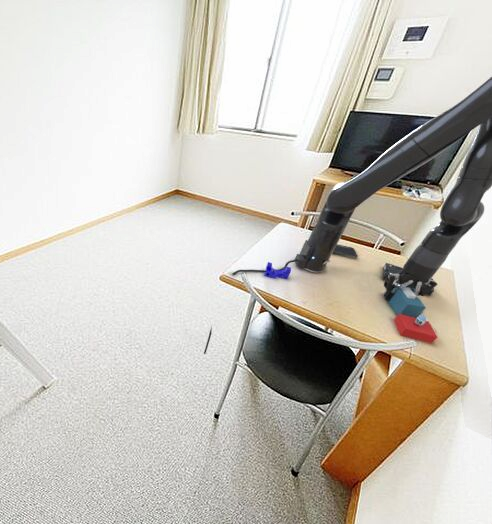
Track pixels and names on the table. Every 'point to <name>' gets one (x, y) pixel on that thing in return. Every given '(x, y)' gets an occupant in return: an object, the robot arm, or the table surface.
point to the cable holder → (276, 272)
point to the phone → (345, 251)
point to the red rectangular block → (415, 328)
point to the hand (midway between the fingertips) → (395, 300)
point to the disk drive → (396, 270)
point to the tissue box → (406, 303)
